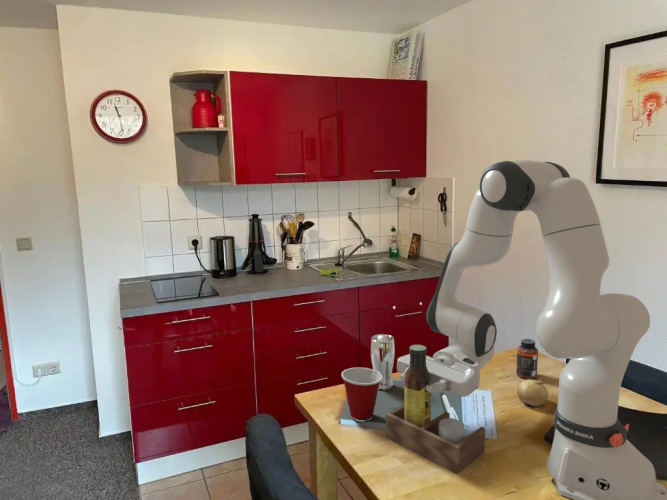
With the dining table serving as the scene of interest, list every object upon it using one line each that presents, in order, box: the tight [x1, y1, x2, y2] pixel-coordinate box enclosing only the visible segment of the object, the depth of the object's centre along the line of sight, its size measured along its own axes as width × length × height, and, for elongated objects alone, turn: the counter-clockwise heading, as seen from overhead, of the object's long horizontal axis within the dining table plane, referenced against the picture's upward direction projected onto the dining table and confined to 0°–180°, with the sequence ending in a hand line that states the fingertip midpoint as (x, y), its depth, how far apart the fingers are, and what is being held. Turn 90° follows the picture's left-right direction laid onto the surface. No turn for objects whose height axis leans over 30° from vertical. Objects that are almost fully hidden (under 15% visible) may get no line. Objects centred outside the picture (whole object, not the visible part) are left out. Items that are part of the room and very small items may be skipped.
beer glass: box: [370, 333, 395, 391], centre depth 148 cm, size 7×7×15 cm
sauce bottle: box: [403, 344, 432, 427], centre depth 118 cm, size 7×6×20 cm
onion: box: [516, 377, 549, 407], centre depth 137 cm, size 8×8×7 cm
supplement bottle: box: [515, 338, 539, 380], centre depth 153 cm, size 6×6×11 cm
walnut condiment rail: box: [385, 403, 486, 475], centre depth 116 cm, size 20×11×7 cm, turn 43°
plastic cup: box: [341, 367, 383, 420], centre depth 131 cm, size 11×11×12 cm
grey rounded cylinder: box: [439, 417, 465, 444], centre depth 113 cm, size 6×6×7 cm
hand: (415, 383), depth 117 cm, fingers closed on sauce bottle, 6 cm apart
